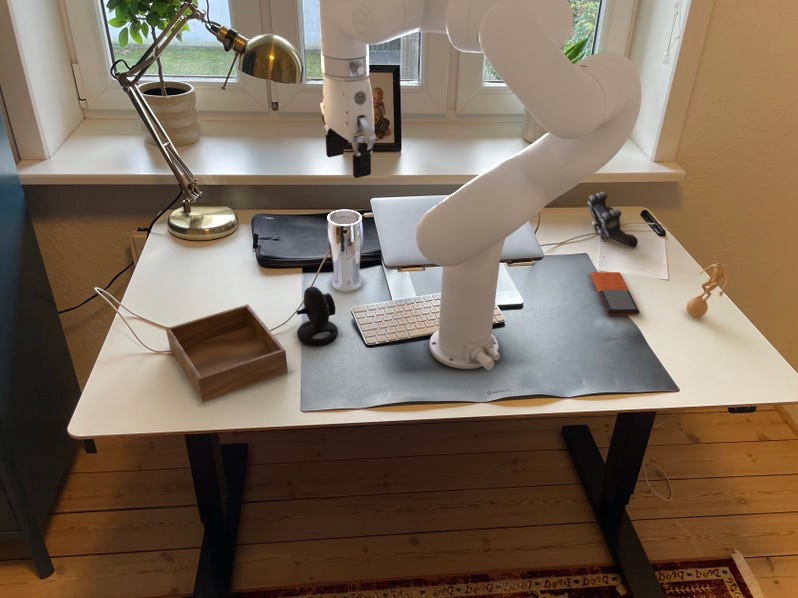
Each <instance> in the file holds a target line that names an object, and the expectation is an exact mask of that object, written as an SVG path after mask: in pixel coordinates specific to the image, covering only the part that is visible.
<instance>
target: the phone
mask: <svg viewBox="0 0 798 598" xmlns="http://www.w3.org/2000/svg"><path fill="white" fill-rule="evenodd" d="M590 278H591V280H592V282H593V285H594V287H595V289H596V291H597V294H598V295H599V298H600V300H601V303H602V304H603V307H604V309H605V311H606V315H608V316H638V315H640V309H639V308H638V307H639V306H637V303H636V302H635V301H636V300H634V298H633V295H632V294H631V291H630V290H629V287H628V286H627V284H626V282H625V280H624V278H623V276H622V274H621V272H619V271H603V272H602V271H593V272H591V273H590Z"/></svg>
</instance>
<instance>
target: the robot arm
mask: <svg viewBox="0 0 798 598" xmlns="http://www.w3.org/2000/svg"><path fill="white" fill-rule="evenodd" d="M318 16H319V36H320V37H319V38H320V39H319V40H320V59H321V61H320V62H321V73H322V76H323V79H322V102H320V103H319V104H320V105H319V106H320V109H321V114H322V117H321V119H322V121H323V124H324V127H323V132H324V134H325V136H324V137H325V152H326V153H325V155H326V157H328V158H333V157H338V156H343V155H344V153H345V151H344V150H345V149H344V146H345V145H344V139H345V140H347V141H348V142H350V144H351V146H352V150H353V152H354V154H352V176H353V177H354V178H355V179H358V178H359V179H360V178H363V177H367V176H370V175H371V174H372V154H373V150H374V148H375V142H376V139H377V135H376V133H375V114H374V113H375V112H374V99H373V92H372V86H371V81H370V77H369V75H370V72H369V71H370V67H369V66H370V62H369V61H370V59H369V58H370V57H369V55H370V53H369V51H370V50H369V45H370V46H378V45H382V44H385V43H388V42H390V41H393V40H396V39H398V38H402V37H404V36H407V35H410V34H414V33H435V34H436V33H437V34H445V35H447V37H448V40H449V42H450V44H451V45H452V46H453V47H454V48H455V49H456V50H457V51H460V52H464V53H477V54H483V56H484V58H485V59H486V61H487V62H488V64H489V65H490V67H491V68H492V70H493V71H494V72H495V74H496V75H497V76H498V77H499V78H500V79H501V81H502V82H503V84H504V85H505V86H506V87H507V88H508V89H509V90H510V92H511V93H512V94H513V95H514V96H515V98H517V100H518V101H519V102H520V103H521V104H522V106H523V107H524V108H525V109H526V111H527V112H529V114H530V115H531V117H532V118H533V119H534V120H535V121H536V122H537V124H539V125H540V126H541V127H542V128H543V129H544V130H545V131H546V133H545V134H544V135H543V136H541V137H540V138H538V139H537V140H536V141H534V142H533V143H531V144H530V145H528V146H527V147H526V148H524V149H522V150H521V151H518V152H517V153H515V154H514V155H512V156H509V157H507V158H505V159H503V160H500V161H498V162H497V163H495V164H494V165H493V166H491V167H490V168H488V169H485V171H483V172H482V173H480V174H479V175H477V176H476V177H474V178H473V179H471V180H470V181H468V182H467V183H466V184H464V185H463V186H461V187H460V188H459V189H457V190H456V191H454V192H453V193H451V194H450V195H449V196H447V197H446V198H444V199H443V200H442V201H440V202H438V203H437V204H436V205H434V206H433V207H432V208H430V209H428V210H427V211H426V212H425V213H424V214H422V216H421V218H420V220H419V222H418V224H417V227H416V234H415V235H416V236H415V238H416V244H417V247H418V250H419V252H420V253H421V255H422V256H423V257H424V258H425V259H426V260H427V261H428V262H430V263H432V264H433V265H435V266H439V267H442V270H441V271H442V272H441V287H440V303H439V304H440V305H439V319H438V320H439V322H438V329H437V330H436V331H434V332H433V333H432V335H431V336H430V339H429V352H430V353H431V355H432V356H433V357H434V358H435V359H436V360H437V361H438V362H440V364H444V365H445V366H448V367H451V368H454V369H459V370H472V369H473V370H474V369H479V368H484V369H485V370H487V371H490V370H492V369H493V368H494V366H495V361H499V360H500V358H501V354H500V353H499V342H498V340H497V337H496V336H495V335H494V334H493V326H494V325H493V323H494V316H495V305H496V299H497V298H496V297H497V289H498V280H499V271H500V264H501V258H502V253H503V248H504V244H505V241H506V239H507V238H508V237H509V236H511V235H513V234H514V233H515V232H516V231H518V230H519V229H520V228H521V227H523V226H524V225H526V224H527V223H528V222H529V221H531V219H533V218H534V217H535V216H536V215H538V214H539V212H541V211H542V210H543V209H544V208H545V207H546V206H547V205H548V204H550V203H551V202H553V201H554V200H556V199H558V198H560V197H561V196H562V195H564V194H565V193H567V192H568V191H569V192H570V191H571V190H572V189H573V188H575V187H576V186H577V185H579V184H581V183H582V182H584V181H585V180H586V179H588V178H590V177H591V176H592V175H594V174H595V173H597V172H599V171H600V169H602V168H603V167H604V166H606V165H607V164H608V163H609V162H610V161H611V160H613V158H614V157H616V155H617V154H618V153H619V151H621V150H622V148H623V146H625V144H626V142H627V141H628V139H629V138H630V136H631V135H632V132H633V131H634V128H635V126H636V124H637V121H638V118H639V116H640V111H641V106H642V83H641V78H640V74H639V72H638V70H637V68H636V65H635V64H634V63H633V62H632V61H631V60H630V59H629V58H628V57H626V56H624V55H622V54H620V53H616V52H610V51H609V52H600V53H595V54H592V55H589V56H587V57H584V58H582V59H581V60H579V61H577V62H575V63H573V62H572V60H570V58H569V57H568V56H567V55H566V54H565V53H564V51H563V50H562V49H561V48H563V46H564V45H565V43H566V42H567V40H568V39H569V37H570V35H571V33H572V29H573V25H574V13H573V9H572V6H571V3H570V2H569V0H318ZM357 134H359V135H357ZM360 141H362V143H361V144H360V146H359V143H358V142H360Z"/></svg>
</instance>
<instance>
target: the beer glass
mask: <svg viewBox="0 0 798 598" xmlns="http://www.w3.org/2000/svg"><path fill="white" fill-rule="evenodd" d="M326 220H327V224H326V225H327V226H326V238H327V245H328V246H327V247H328V251H329V256H330V259H331V263H332V278H331V286H332V288H333V289H334V290H337V291H339V292H347V293H349V292H354V291H356V290H358V289H360V288H361V287H362V284H363V281H362V276H361V271H360V270H361V269H360V265H361V259H362V255H363V254H362V253H363V247H364V228H363V221H362V220H363V217H362V215H361V214H360V212H357V211H354V210H351V209H338V210H335V211H334V210H333V211H332V212H330V213H329V214H328V215H327V219H326Z"/></svg>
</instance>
